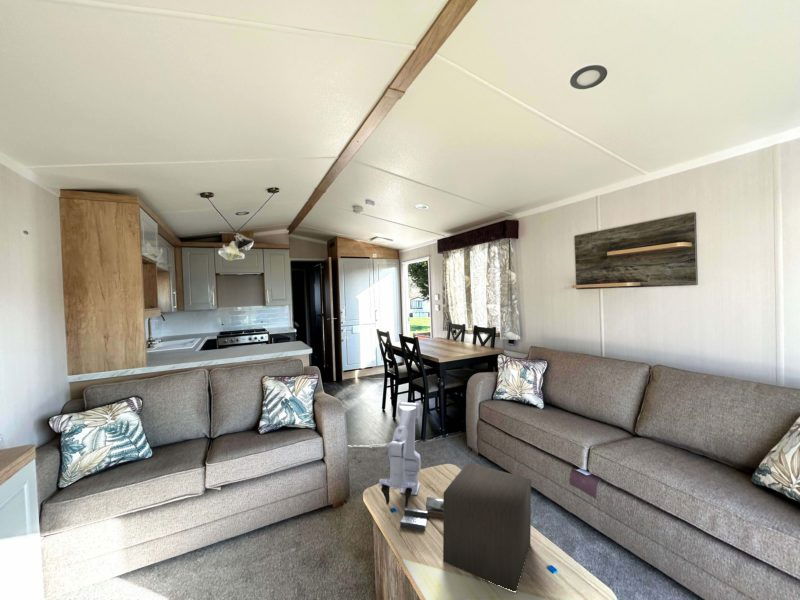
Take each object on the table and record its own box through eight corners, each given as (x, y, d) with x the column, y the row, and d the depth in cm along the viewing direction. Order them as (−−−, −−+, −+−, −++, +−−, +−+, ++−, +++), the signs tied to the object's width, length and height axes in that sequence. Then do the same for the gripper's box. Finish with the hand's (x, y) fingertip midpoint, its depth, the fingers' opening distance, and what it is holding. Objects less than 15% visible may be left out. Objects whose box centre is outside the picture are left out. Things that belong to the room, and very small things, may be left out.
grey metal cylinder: (426, 513, 147) (426, 501, 147) (427, 506, 152) (427, 494, 152) (451, 517, 144) (451, 505, 144) (452, 509, 150) (452, 497, 149)
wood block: (467, 521, 142) (467, 462, 141) (530, 543, 129) (531, 479, 128) (443, 561, 120) (443, 492, 120) (515, 594, 108) (516, 516, 107)
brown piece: (429, 503, 153) (429, 499, 153) (444, 505, 152) (444, 501, 152) (426, 515, 145) (426, 511, 145) (443, 518, 144) (443, 513, 144)
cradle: (404, 513, 147) (404, 508, 147) (427, 516, 145) (427, 511, 145) (400, 527, 138) (400, 521, 138) (424, 530, 136) (424, 525, 136)
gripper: (377, 474, 134) (377, 508, 134) (413, 478, 131) (413, 513, 131) (381, 465, 141) (381, 497, 141) (416, 469, 138) (416, 502, 138)
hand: (397, 504), depth 137 cm, fingers open, 7 cm apart
